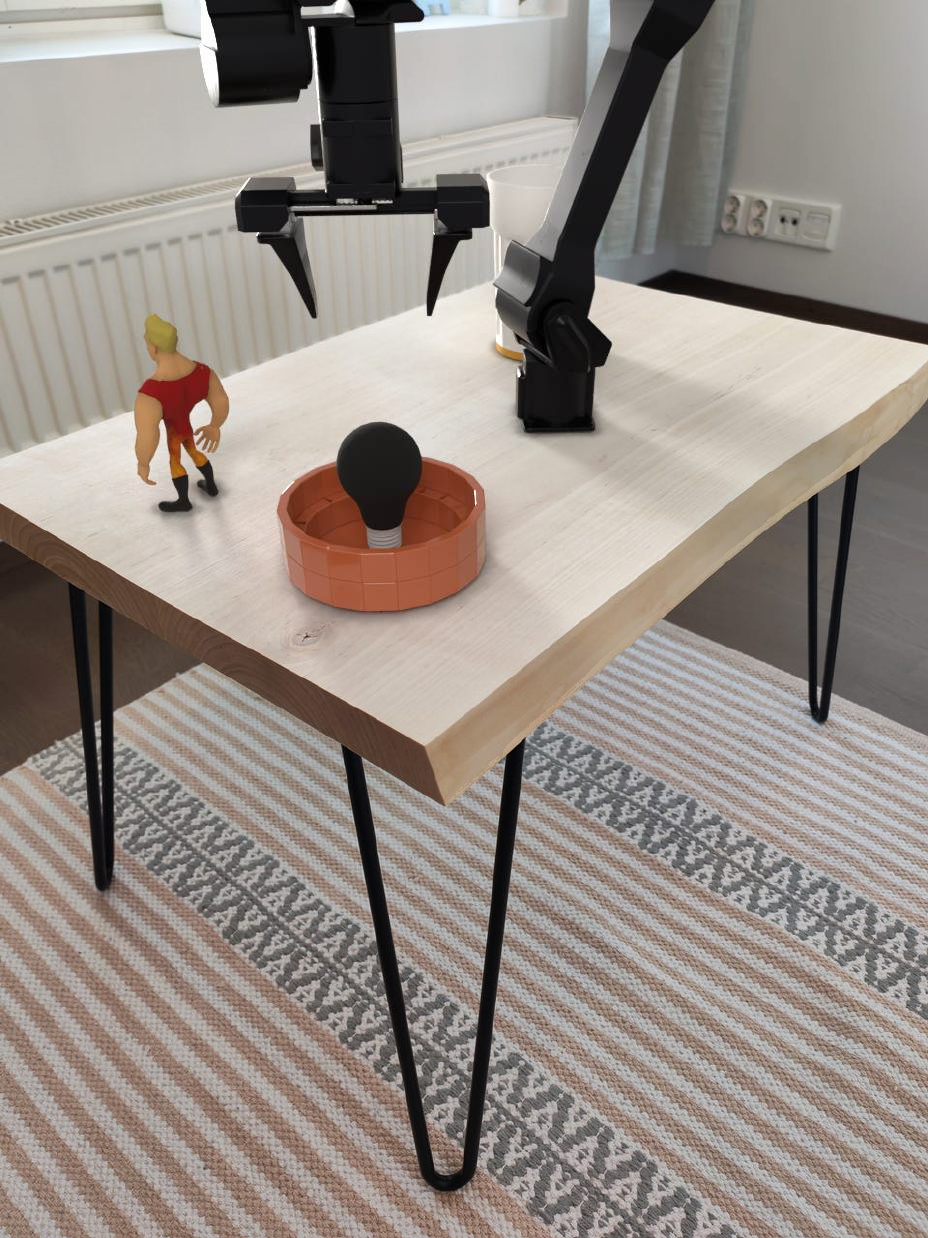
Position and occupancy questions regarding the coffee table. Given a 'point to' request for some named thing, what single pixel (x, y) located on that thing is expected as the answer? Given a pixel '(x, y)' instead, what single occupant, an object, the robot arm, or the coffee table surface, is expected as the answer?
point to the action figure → (176, 412)
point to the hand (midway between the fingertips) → (372, 315)
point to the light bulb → (380, 478)
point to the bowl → (384, 577)
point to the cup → (517, 222)
